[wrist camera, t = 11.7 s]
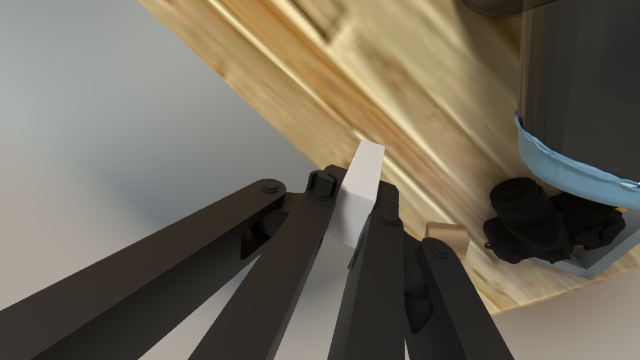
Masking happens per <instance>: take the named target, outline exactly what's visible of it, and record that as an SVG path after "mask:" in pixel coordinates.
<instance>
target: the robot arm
mask: <svg viewBox="0 0 640 360" xmlns="http://www.w3.org/2000/svg"><path fill="white" fill-rule="evenodd" d="M462 1H463V2H464V3H465V4H466V5H467V6H468V7H470V8H471V9H472V10H474V11H476V12H478V13H480V14H482V15H485V16H489V17H495V18H510V17H517V16H521V15H522V28H521V47H520V66H519V85H518V104H517V111H516V112H515V116H514V118H515V124H516V127H517V128H518V152H519V156H520V158H521V160H522V162H523V163H524V164H525V165H526V166H527V167H528V168H529V170H530V171H531V172H532V173H533V174H534V175H535V176H537V177H538V178H540V179H541V180H543V181H544V182H546V183H548V184H550V185H552V186H554V187H556V188H558V189H560V190H563V191H565V192H567V193H570V194H573V195H576V196H579V197H582V198H585V199H588V200H592V201H595V202H599V203H603V204H607V205H611V206H616V207H621V208H626V209H633V210H639V211H640V0H462ZM384 150H385V146H382V145H379V144H376V143H373V142H370V141H367V140H364V139H362V141H361V143H360V145H359V147H358V150H357V152H356V154H355V156H354V158H353V160H352V163H351V165H350V167H349V169H348V170H347V169H344V168H341V167H339V166H336V165H333V164H332V165H329V166H327V167H326V168H325V169H324V170H317V171H313V172H311V173H310V176H309V180H308V184H307V188H306V191H305V192H304V193H291V192H286V187H285V185H284V184H283V183H282V182H280V181H277V180H274V179H262V180H259V181H256V182H254V183H252V184H250V185H248V186H246V187H245V188H242V189H240V190H238V191H236V192H234V193H232V194H231V195H229V196H227V197H225V198H223V199H221V200H219V201H217V202H215V203H213V204H211V205H209V206H207V207H205V208H203V209H201V210H199V211H197V212H195V213H193V214H191V215H189V216H187V217H185V218H183V219H181V220H179V221H177V222H175V223H173V224H171V225H169V226H167V227H165V228H163V229H161V230H159V231H157V232H155V233H153V234H151V235H150V236H147V237H146V238H144V239H142V240H140V241H138V242H136V243H134V244H132V245H130V246H128V247H126V248H124V249H122V250H120V251H118V252H116V253H114V254H112V255H110V256H108V257H106V258H104V259H102V260H100V261H98V262H96V263H94V264H92V265H90V266H88V267H86V268H84V269H82V270H80V271H79V272H76V273H74V274H72V275H70V276H68V277H66V278H64V279H62V280H60V281H59V282H57V283H55V284H53V285H51V286H49V287H47V288H45V289H43V290H41V291H39V292H37V293H35V294H33V295H31V296H29V297H27V298H25V299H23V300H21V301H19V302H17V303H15V304H13V305H11V306H9V307H7V308H5V309H3V310H1V311H0V360H138V359H139V358H140V357H141V356H143V355H144V354H145V353H146V352H147V351H148V350H149V349H151V348H152V347H153V346H154V345H155V344H156V343H157V342H159V341H160V340H161V339H162V338H163V337H165V336H166V335H167V334H168V333H169V332H170V331H172V330H173V329H174V328H175V327H176V326H177V325H178V324H180V323H181V322H182V321H183V320H184V319H185V318H187V317H188V316H189V315H190V314H191V313H192V312H194V311H195V310H196V309H197V308H198V307H199V306H201V305H202V304H203V303H204V302H205V301H206V300H207V299H209V298H210V297H211V296H212V295H213V294H214V293H216V292H217V291H218V290H219V289H220V288H221V287H223V286H224V285H225V284H226V283H227V282H228V281H230V280H231V279H232V278H233V277H234V276H235V275H237V274H238V273H239V272H240V271H241V270H242V269H243V268H245V267H246V266H247V265H248V264H249V263H250V262H251V261H253V260H254V259H255V258H256V257H257V256H259V255H260V254H261V253H262V254H261V255H260V257H259V258H258V260H257V261H256V263H255V264H254V265H253V267H252V268H251V270H250V271H249V273H248V274H247V276H246V277H245V278H244V280H243V281H242V283H241V284H240V286H239V287H238V288H237V290H236V291H235V293H234V294H233V296H232V297H231V298H230V300H229V301H228V303H227V304H226V306H225V307H224V308H223V310H222V311H221V313H220V314H219V316H218V317H217V318H216V320H215V321H214V323H213V324H212V326H211V327H210V329H209V330H208V331H207V333H206V334H205V336H204V337H203V339H202V340H201V341H200V343H199V344H198V346H197V347H196V349H195V350H194V351H193V353H192V354H191V356H190V357H189V359H188V360H274V357H275V355H276V352H277V350H278V348H279V345H280V343H281V340H282V338H283V336H284V333H285V331H286V328H287V326H288V323H289V321H290V319H291V316H292V314H293V312H294V309H295V307H296V304H297V302H298V300H299V297H300V295H301V292H302V290H303V287H304V285H305V283H306V280H307V278H308V276H309V273H310V271H311V268H312V266H313V263H314V261H315V259H316V256H317V254H318V251H319V249H320V247H321V244H322V241H323V238H324V237H327V238H329V239H332V240H334V241H337V242H340V243H342V244H345V245H347V246H350V247H352V248H355V247H356V245H357V247H356V250H355V252H354V255H353V257H352V259H351V261H350V264H349V266H348V269H349V273H348V277H347V281H346V285H345V289H344V293H343V298H342V301H341V306H340V310H339V314H338V318H337V322H336V326H335V330H334V334H333V338H332V343H331V347H330V351H329V355H328V359H327V360H405V341H406V345H407V350H408V354H409V359H410V360H514V358H513V356H512V354H511V353H510V351H509V349H508V347H507V345H506V343H505V342H504V340H503V338H502V336H501V334H500V333H499V331H498V329H497V327H496V325H495V324H494V322H493V320H492V318H491V316H490V314H489V313H488V311H487V309H486V307H485V305H484V303H483V302H482V300H481V298H480V296H479V294H478V293H477V291H476V289H475V287H474V285H473V283H472V282H471V280H470V278H469V276H468V274H467V273H466V271H465V269H464V267H463V265H462V263H461V262H460V260H459V258H458V256H457V254H456V253H455V252H454V250H453V249H452V248H451V247H450V246H449V245H447V244H446V243H445V242H443V241H441V240H439V239H436V238H433V237H426V238H423V240H422V241H421V242H420V241H419V240H417V239H415V238H414V237H412V236H411V235H409V234H408V233H407V232H406V231H404V226H403V222H402V220H401V219H400V218H399V203H398V202H399V191H398V189H397V188H396V186H395V185H392V184H390V183H387V182H384V181H381V180H379V179H380V173H381V167H382V162H383V156H384Z"/></svg>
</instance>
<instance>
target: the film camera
mask: <svg viewBox="0 0 640 360" xmlns="http://www.w3.org/2000/svg"><path fill="white" fill-rule="evenodd" d="M490 200H491V203H492V206H493V207H494V209H495V210H496V211H497V213H498V216H499V217H496V218H494V219H491V220H488V221H486V222H485V223H484V226H483V230H484V232H485V234H486V236H487V239H488V241H489V243H485V248H486V249H492V250H493V251H494V253H495V254H496V255H497V257H498V258H499V259H502V260H504V261H506V262H509V263H511V264H517V263H519V262H520V261H521V260H523V259H528V258H532V257H536V258H538V259H541V260H545V261H549V262H550V264H554V263H555V262H559V261H563V260H567V259H568V260H572V259H571V257H570V255H571V253H572V252H573V250H574V246H577V245H582V246H584V248H583V249H584V250H586V251H590V250H594V249H597V248H601V247H604V246H607V245H609V244H611V243H612V241H613V240H614V239H615V238H616V236H617V235H618V234H619V233H620V232H621V231H622V230H624V228H625V226H626V224H625V220H624V219H623V217H622V213H621V212H619V211H618V210H616V209H614V208H617V207H616V206H611V205H607V204H603V203H599V202H595V201H592V200H588V199H585V198H582V197H579V196H576V195H573V194H570V193H567V192H564V193H562V194H559V195H556V196H553V197H551V198H549V197H548V196H547V195H546V194H545V192H544V190H543V188H542V187H541V186H539V185H538V184H537V183H536V182H535V181H534V180H532V179H529V178H526V177H525V178H515V179H510V180H507V181H505V182H502V183H500V184H499V185H497V186H496V187H494V188H493V190H492V191H491V193H490ZM487 244H490V245H491V246H487Z"/></svg>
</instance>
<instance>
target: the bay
mask: <svg viewBox="0 0 640 360" xmlns="http://www.w3.org/2000/svg"><path fill="white" fill-rule="evenodd" d="M622 217H623V219H624V220H625V224H626V226H625V228H624V230H622V231H621V232H620V233H619V234H618V235H617V236H616V238H615V239H614V240H613V241H612V243H611V244H609V245H607V246H604V247H601V248H597V249H594V250H590V251H586V250H584V249H582V250H581V251H580V252H579V253H577V254H576V255H575V256H574V255H570V257H571V259H572V260H568V259H567V260H563V261H559V262H555V263H554V264H550V262H549V261H545V260H541V259H538V258H536V257H532V258H531V259H534V260H536V261H539V262H542V263H545V264H547V265H550V266H553V267H556V268H558V269H561V270H564V271H567V272H570V273H572V274H575V275H578V276H581V277H583V278H586V279H589V280H590V279H592V278H593V277H594V276H596V275H597V274H598V273H600V272H601V271H602V270H604V269H605V268H606V267H608V266H609V265H610V264H612V263H613V262H614V261H616V260H617V259H618V258H620V257H621V256H622V255H624V254H625V253H626V252H628V251H629V250H630V249H632V248H633V247H634V246H636V245H637V244H638V243H640V211H639V210H633V209H629V210H628V211H627V212H626V213H624V214H623V215H622Z"/></svg>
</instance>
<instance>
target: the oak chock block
mask: <svg viewBox="0 0 640 360" xmlns="http://www.w3.org/2000/svg"><path fill="white" fill-rule="evenodd" d="M426 237H433V238H436V239H439V240H441V241H443V242H445V243H446V244H447V245H449V246H450V247H451V248H452V249H453V250H454V252H455V253H456V254H457V256H458V258H464V259H465V255H466V252H467V248H468V245H469V242H470V239H469V237H468V234H467V231H466V229H465V226H462V225H454V224H445V223H437V222H429V221H427V227H426V232H425V238H426Z"/></svg>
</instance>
